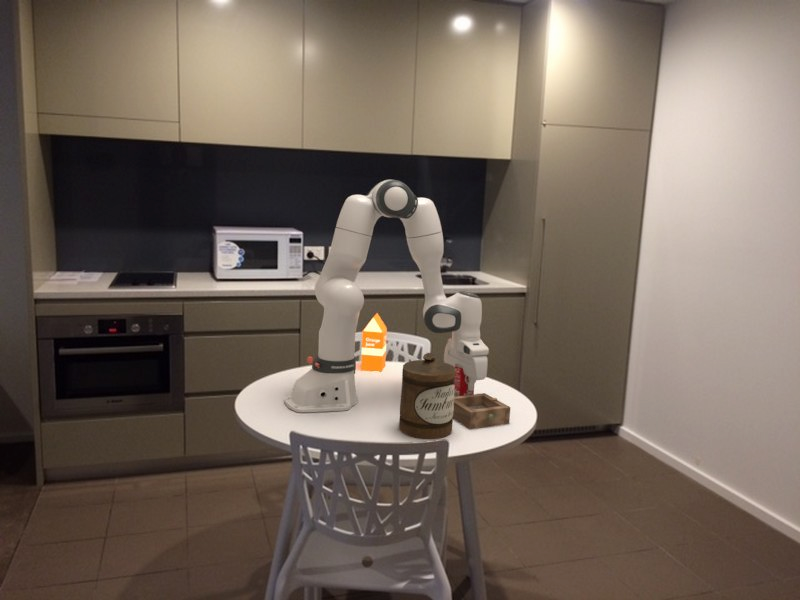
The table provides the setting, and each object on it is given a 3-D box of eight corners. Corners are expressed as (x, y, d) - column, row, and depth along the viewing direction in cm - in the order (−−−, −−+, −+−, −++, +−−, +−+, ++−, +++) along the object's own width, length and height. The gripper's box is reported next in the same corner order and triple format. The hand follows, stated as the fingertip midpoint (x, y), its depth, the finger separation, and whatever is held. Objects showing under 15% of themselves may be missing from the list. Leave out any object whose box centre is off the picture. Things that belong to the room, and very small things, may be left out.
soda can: (475, 399, 215) (477, 363, 213) (470, 406, 208) (472, 369, 206) (454, 396, 217) (456, 360, 215) (448, 402, 210) (450, 366, 208)
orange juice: (385, 365, 249) (387, 313, 246) (381, 372, 241) (384, 317, 237) (364, 364, 250) (366, 311, 247) (360, 370, 242) (362, 316, 238)
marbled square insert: (472, 421, 191) (472, 418, 191) (455, 410, 199) (456, 408, 199) (499, 417, 195) (499, 414, 195) (481, 407, 204) (481, 404, 203)
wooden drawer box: (470, 429, 188) (471, 411, 187) (445, 413, 201) (446, 396, 200) (509, 424, 194) (511, 406, 193) (483, 408, 207) (484, 391, 206)
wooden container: (423, 443, 177) (427, 363, 173) (388, 426, 188) (391, 350, 184) (463, 432, 186) (468, 355, 183) (427, 416, 198) (431, 344, 194)
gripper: (440, 336, 217) (437, 377, 220) (474, 352, 199) (471, 396, 202) (457, 335, 220) (454, 375, 222) (492, 350, 202) (489, 394, 204)
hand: (462, 385), depth 212 cm, fingers closed on soda can, 7 cm apart
